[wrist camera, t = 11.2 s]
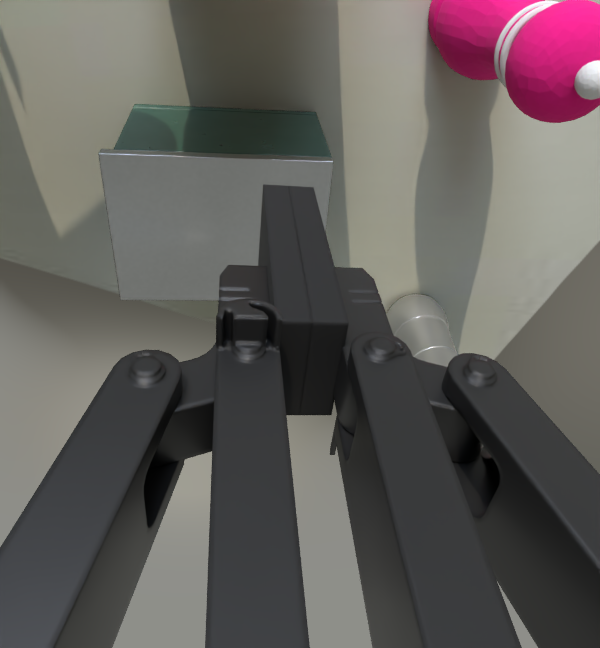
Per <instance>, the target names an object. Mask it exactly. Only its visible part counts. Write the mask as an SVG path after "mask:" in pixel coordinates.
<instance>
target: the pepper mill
mask: <svg viewBox="0 0 600 648" xmlns="http://www.w3.org/2000/svg"><path fill="white" fill-rule="evenodd" d="M428 24H429V31H430V35H431V38H432V40H433V42H434V43H435V45H436V46H437V47H438V48H439V52H440V54H441V56H442V57H443V59H444V61H445V62H446V63H447V65H448V66H449V67H450V68H451V69H453V70H454V71H455V72H457V73H459V74H461V75H463V76H465V77H468V78H470V79H475V80H494V79H499V80H500V82H501V83H502V84H503V85H504V86H505V87H506V88H507V90H508V93H509V96H510V98H511V99H512V101H513V103H514V104H515V105H516V106H517V107H518V108H519V109H520V110H521V111H522V112H523V113H524V114H526V115H528V116H530V117H531V118H534V119H537V120H539V121H544V122H550V123H561V122H566V121H571V120H575V119H577V118H580V117H582V116H585V115H586V114H588V113H589V112H591V111H593V110H594V109H595V108H597V107H598V106H599V105H600V5H599V4H597V3H595V2H592V1H587V0H567V1H563V2H560V3H559V2H556V1H545V0H432V2H431V5H430V9H429V18H428Z"/></svg>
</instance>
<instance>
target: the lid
mask: <svg viewBox="0 0 600 648" xmlns="http://www.w3.org/2000/svg"><path fill="white" fill-rule="evenodd" d="M98 155H99V161H100V168H101V174H102V181H103V188H104V194H105V201H106V208H107V214H108V221H109V227H110V234H111V241H112V247H113V254H114V260H115V267H116V274H117V280H118V287H119V293H120V299H121V300H219V278H220V274H221V273H222V272H223V271H224V269H225V268H226V267H227V266H228V265H249V266H258V258H259V242H260V226H261V210H262V194H263V184H264V185H283V186H301V187H314V191H315V195H316V198H317V202H318V206H319V210H320V214H321V218H322V221H323V225H324V229H325V233H326V225H327V216H328V207H329V198H330V189H331V180H332V171H333V159H332V158H331V157H306V156H278V155H250V154H222V153H194V152H166V151H138V150H110V149H101V150H100V151H99V154H98Z"/></svg>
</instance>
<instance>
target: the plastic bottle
mask: <svg viewBox="0 0 600 648" xmlns="http://www.w3.org/2000/svg"><path fill="white" fill-rule="evenodd" d="M386 315H387V318H388V321H389V324H390V327H391V329H392V332H393V335H394V336H395V337H398V338H399V339H400V340H402V341H403V342H404V343H406V345H407V346H408V348H409V349H410V351H411V353H412V356H413V357H415V358H417V359H420V360H423V361H426V362H429V363H434V364H438V365H442V366H446V367H448V364H449V362H450V361H451V360H452V358H453V357H454V356H457V355H458V353H457V351H456V349H455V346H454V343H453V340H452V337H451V334H450V330H449V324H448V320H447V317H446V313H445V312H444V310H443V309H442V307H441V306H440V305H439V304H438V303H437V302H436V301H435V300H434V299H433V298H431V297H429V296H426V295H421V294H412V295H407V296H404V297H402V298H400V299H399V300H397V301H396V302H395V303H394V304H393V305H392V306H391V307H390V309H389V310H388V312H387V314H386Z"/></svg>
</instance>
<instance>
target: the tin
mask: <svg viewBox="0 0 600 648" xmlns="http://www.w3.org/2000/svg"><path fill="white" fill-rule="evenodd" d="M114 150H138V151H166V152H194V153H222V154H250V155H278V156H306V157H331V154H330V151H329V148H328V145H327V143H326V140H325V137H324V134H323V131H322V129H321V126H320V123H319V120H318V117H317V114H316V112H298V111H277V110H255V109H233V108H211V107H189V106H167V105H145V104H135V105H134V107H133V109H132V111H131V113H130V115H129V118H128V120H127V122H126V124H125V126H124V128H123V130H122V132H121V135H120V137H119V139H118V141H117V143H116V145H115V147H114ZM331 158H332V157H331Z"/></svg>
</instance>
